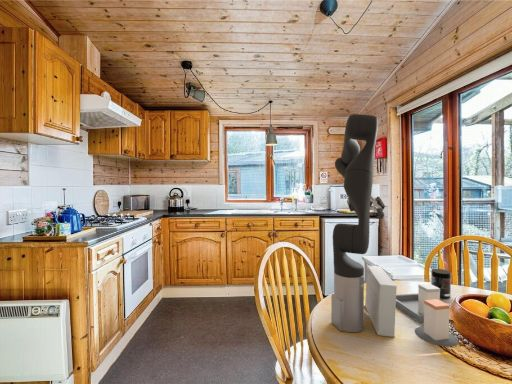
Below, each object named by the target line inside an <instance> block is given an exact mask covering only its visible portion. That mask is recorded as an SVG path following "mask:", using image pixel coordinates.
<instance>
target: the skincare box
mask: <svg viewBox="0 0 512 384" xmlns="http://www.w3.org/2000/svg"><path fill="white" fill-rule="evenodd" d="M365 285H366V286H365V299H364V301H365V305H364V307H365V308H366V311H367V314H368V316H369V318H370V321H371V324H372V325H373V328H374V330H375V333H376V335H378V336H381V337H382V336H383V337H393V338H394V337H395V335H396V334H395V333H396V332H395V331H396V327H395V326H396V310H397V309H396V307H397V306H396V295H397V287H398V286H397V284H396V283H395V282H394V281H393V280H392V279H391V277H390V276H389V275H388V274H387V273H386V271H385V270H384V269H383V268H382V266H379V265H366V281H365Z"/></svg>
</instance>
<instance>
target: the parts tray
mask: <svg viewBox="0 0 512 384" xmlns="http://www.w3.org/2000/svg"><path fill="white" fill-rule="evenodd" d="M396 307H397V308H398V309H400V311H402V312H404V313H405V314H407V315H408V316H410V318H412V319H414V320H415V321H416V322H418V323H419V324H424V315H421V314H420V313H418V293H406V294H405V293H403V294H396ZM449 310H451V309H449ZM449 320H450V319H449Z"/></svg>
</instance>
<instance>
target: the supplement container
mask: <svg viewBox="0 0 512 384" xmlns="http://www.w3.org/2000/svg"><path fill="white" fill-rule="evenodd" d="M430 274H431V275H430V276H431V279H430V284H431V285H434V286H436V287H438V288H440V299H444V300H445V299H446V300H447V299H450V298H451V291H452V290H451V288H452V286H451V285H452V284H451V283H452V282H451V279H452V278H451V277H452V272H451V271H450V270H447V269H441V268H431V270H430Z"/></svg>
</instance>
